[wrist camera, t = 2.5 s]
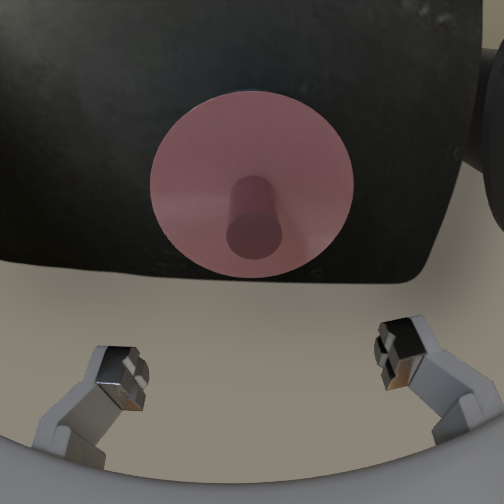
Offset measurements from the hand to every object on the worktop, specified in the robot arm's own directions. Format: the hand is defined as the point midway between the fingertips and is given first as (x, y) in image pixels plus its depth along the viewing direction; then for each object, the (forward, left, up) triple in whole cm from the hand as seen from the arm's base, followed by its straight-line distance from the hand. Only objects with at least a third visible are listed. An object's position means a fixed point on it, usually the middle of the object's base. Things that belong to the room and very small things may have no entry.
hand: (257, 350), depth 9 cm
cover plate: (0, 0, -12) cm, 12 cm away
